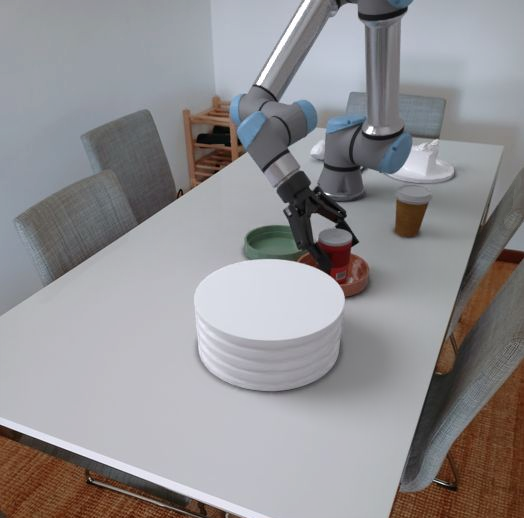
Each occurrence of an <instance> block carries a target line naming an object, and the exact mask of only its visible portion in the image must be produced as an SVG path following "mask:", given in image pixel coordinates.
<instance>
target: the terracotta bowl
mask: <svg viewBox="0 0 524 518" xmlns="http://www.w3.org/2000/svg"><path fill="white" fill-rule="evenodd" d="M297 262H298V263H302V264H306V265H309V266H312V267H314V268H316V261H315V260H314V259H313V258H312V256H311V255H310V253H307V254H305V255H303V256H301V257H300V258H299V259H298V261H297ZM370 271H371V270H370V266H369V264H368V262H367V261H365V260H364V258H362V257H360V256H359V255H358V254H354V253H352V252H351V254H350V262H349V269H348V277H347V279H346V281H345V282H344V283H342V284H339V286H340V287H341V289H342V290H343V293H344V297H345V298H346V297H351V296H354V295H357V294H359V293H361V292H362V291H363V290H365V289H366V288H367V286H368V283H369V278H370V277H369V276H370Z"/></svg>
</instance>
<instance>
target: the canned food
mask: <svg viewBox="0 0 524 518" xmlns="http://www.w3.org/2000/svg"><path fill="white" fill-rule="evenodd" d="M317 236H318V237H317V242H318V244H319V245H320V247H321V248H322V249H323V251H324V252H325V254H326V255H327V256H328V258H329V259H330V261H331V262H332V264H333V265H334V266H333V267H332V268H331V269H329V270H327V271H326V272H324V273H326V274H328V275H329V276H330V277H332V278H333V279H334V280H335V281H336V282H337V283H338V284H342V283H344V282H345V281H346V279H347V277H348V269H349V262H350V254H351V253H352V248H351V246H352V234H351V233H349V232H348V231H346V230H342V229H336V228H327V229H324V230H321V231H320V232H319V233H318V235H317ZM316 269H319V270H321V271H323V270H322V269H321V267H320V266H319V265H318V263H317V262H316Z"/></svg>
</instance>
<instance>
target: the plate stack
mask: <svg viewBox="0 0 524 518" xmlns="http://www.w3.org/2000/svg"><path fill="white" fill-rule="evenodd" d="M193 304H194V305H193V306H194V315H195V327H196V334H197V335H196V336H197V346H198V354H199V358H200V360H201V362H202V364H203V365H204V366H205V367H206V369H207V370H208V371H209V372H210V373H211V374H213V375H214V376H215V377H217V378H218V379H220V380H221V381H224V382H226V383H228V384H230V385H233V386H235V387H238V388H242V389H246V390H252V391H257V392H258V391H259V392H279V391H281V392H283V391H287V390H292V389H293V390H294V389H297V388H301V387H304V386H307V385H309V384H312V383H313V382H316V381H317V380H319V379H320V378H322V377H323V376H325V375H326V374H327V373H328V372H329V371H330V370H331V369H332V368H333V366H335V364H336V362H337V360H338V357H339V353H340V343H341V335H342V329H343V320H344V312H345V305H346V297H344V293H343V290H342V289H341V287H340V286H339V284H338V283H337V282H336V281H335V280H334V279H333V278H332V277H330V276H329V275H328V274H326V273H324V272H323V271H321V270H319V269H316V268H314V267H312V266H309V265H306V264H302V263H298V262H294V261H288V260H278V259H258V260H251V259H249V260H243V261H239V262H235V263H231V264H227V265H225V266H223V267H220V268H218V269H216V270H214V271H213V272H211V273H210V274H208V275H207V276H206V277H204V278H203V279H202V281H201V282H200V283H199V284H198V285H197V287H196V289H195V291H194V295H193Z"/></svg>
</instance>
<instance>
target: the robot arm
mask: <svg viewBox="0 0 524 518" xmlns="http://www.w3.org/2000/svg"><path fill="white" fill-rule="evenodd" d="M413 2H414V0H301V1H300V3H299V5H298V6H297V8H296V10H295V12H294V14H293V15H292V16H291V18H290V20H289V22H287V23H288V24H287V25H286V27H285V28H284V30H283V32H282V34H281V35H280V37H279V39H278V41H277V43H276V44H275V46H274V47H273V49H272V51H271V53H270V54H269V56H268V58H267V59H266V61H265V62H264V64H263V66H262V68H261V70H260V71H259V73H258V75H257V76H256V78H255V80H254V82H253V83H252V85H251V87H250V88H249V90H248V92H247V93H239V94H237V95H236V96H234V97H233V99H232V101H231V102H230V106H229V117H230V120H231V122H232V123H233V125H235V126H237V128H236V136H237V138H238V139H239V141H240V144H242V146H243V148H244V150H245V151H246V152H247V153H248V155H249V156H250V157H251V159H252V160H253V162H254V163H255V164H256V166H257V167H258V168H259V170H260V172H262V174H263V175H264V177H265V178H266V179H267V181H268V182H269V183H270V184H271V187H272V188H274V189H276V194H277V195H278V197H279V198H280V200H281V201H282V202H283V203H284V204H287V203H288V205H287V206H286V207H284V208H283V209H282V212H283V214H284V216H285V217H286V219H287V222H288V226H290V228H291V231H292V234H293V237H294V240H295V243H296V246H297V249H298V250H302V251H304V250H306V249H307V250H308V252H309V253H310V255H311V256H312V258H313V259H314V260H315V261H316V262H317V263H318V265H319V266H320V267H321V269H322V270H323V272H326V271H327V270H329V269H331V268H332V267H333V266H334V265H333V264H332V262H331V261H330V259H329V258H328V256H327V255H326V254H325V252H324V251H323V249H322V248H321V247H320V245H319V244H318V241H316V242H315V241H314V234H313V227H312V219H311V217H312V215H313V214H318V215H319V216H321V217H323V218H325V219H327V220H329V221H330V222H332V223H334V224H335V225H334V228H335V229H342V230H346V231H348V232H349V233H351V234H352V246H351V249H352V248H353V247H355V246H357V245H358V244H359V243H360V240H359V239H358V238H357V236H356V234H355V232H353V230H352V228H351V227H350V225H349V224H348V222H347V220H345V219H346V218H347V217H348V215H347V211H346V209H345V208H343V206H341V205H340V204H339V203H338V202H352V201H356V200H358V199H360V198H362V197H363V196H364V190H365V187H364V182H363V176H362V172H363V171H364V170H365V169H369V170H372V171H376V172H378V173H380V174H382V173H383V174H385V173H386V174H385V175H387V174H394V173H396V172H397V171H399V170H400V169H401V168H402V166H403V165H404V164H405V162H406V160H407V159H408V157H409V154H410V152H411V148H412V146H413V142H414V141H413V136H412V135H411V134H410V133H409V132H407V131H405V119H403V117H402V116H400V80H401V79H400V78H401V77H400V76H401V41H402V39H401V36H402V19H403V18H404V16H406V14H407V13H408V11H409V6H410V5H411V4H412V3H413ZM347 4H352V5H357V18H358V20H359V21H360V22H361V23H363V25H364V49H365V50H364V55H365V93H366V94H365V100H366V116H365V115H364V114H355V113H354V114H342V115H336V116H333V117H331V118H329V119H328V121H327V123H326V129H325V134H324V135H325V136H324V140H325V151H324V159H323V166H322V169H321V172H320V175H319V176H318V177H319V178H318V180H317V182H316V184H315V186H314V187H313V189H311V188H310V186H311V185H312V181H311V180H310V178H309V177H308V175H307V174H306V173H305V171H304V170H300V169H301V164H299V162H298V160H297V159H296V158H295V156H294V155H293V153H292V152H291V151H290V149H289V147H291V146H292V145H294V144H295V143H297V142H299V141H301V140H302V139H304V138H306V137H307V136H308V135H309V134H310V133H312V132H313V131H315V129H316V128H317V126H318V121H319V120H318V113H317V110H316V108H315V106H314V105H313V104H312V103H311V101H309V100H307V99H299V100H296V101H293V102H292V103H291V104H287V103H283V102H280V101H281V99H282V98H283V96H284V95H285V93H286V91H287V89H288V87H289V86H290V84H291V82H292V81H293V79H294V77H295V76H296V74H297V72H298V71H299V69H300V67H301V66H302V64H303V62H304V61H305V59H306V57H307V56H308V54H309V53H310V51H311V49H312V47H313V46H314V44H315V43H316V41H317V39H318V37H319V36H320V34H321V32H322V31H323V29H324V27H325V26H326V24H327V22H328V20H329V19H330V18H331V19H332V18H334V17H335V16H336V15H337V13H338V12H339V10H340V9H341V8H342V7H343V6H344V5H347ZM361 167H362V168H361ZM301 241H302V242H301Z"/></svg>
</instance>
